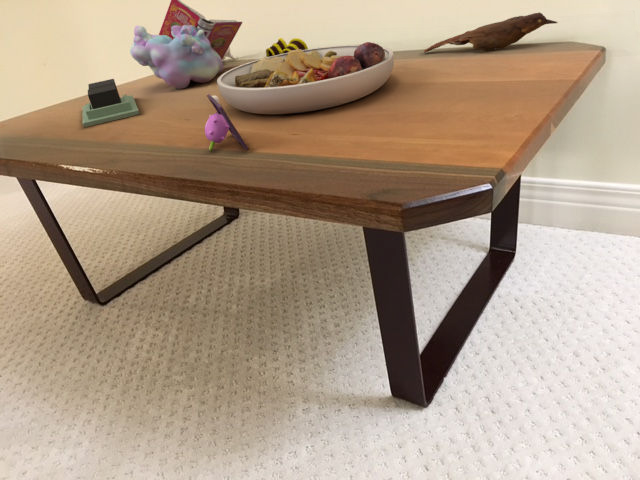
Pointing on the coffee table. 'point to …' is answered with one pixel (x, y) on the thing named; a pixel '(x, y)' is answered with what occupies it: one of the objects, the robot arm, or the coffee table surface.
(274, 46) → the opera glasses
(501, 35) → the bird sculpture
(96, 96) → the gripped black block
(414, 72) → the coffee table surface
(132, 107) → the dock
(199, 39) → the marbled pastel blob
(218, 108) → the purple panel with bulb
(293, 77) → the bowl
